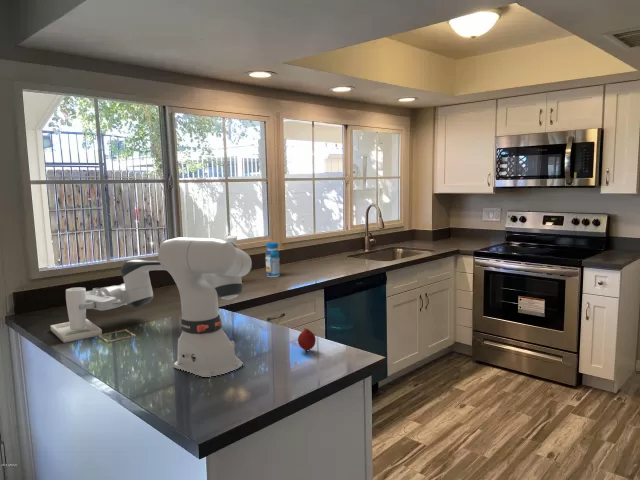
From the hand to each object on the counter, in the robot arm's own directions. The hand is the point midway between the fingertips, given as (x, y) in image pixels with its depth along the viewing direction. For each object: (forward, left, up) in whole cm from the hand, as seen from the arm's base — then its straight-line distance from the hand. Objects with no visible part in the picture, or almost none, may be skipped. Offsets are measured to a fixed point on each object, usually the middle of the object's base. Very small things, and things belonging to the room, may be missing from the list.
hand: (74, 306), depth 176 cm
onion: (-73, -52, -11) cm, 90 cm away
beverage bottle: (+39, -118, -11) cm, 125 cm away
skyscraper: (+41, -91, -11) cm, 100 cm away
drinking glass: (0, -1, -9) cm, 9 cm away
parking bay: (-12, -11, -11) cm, 20 cm away
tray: (+4, -1, -11) cm, 12 cm away
